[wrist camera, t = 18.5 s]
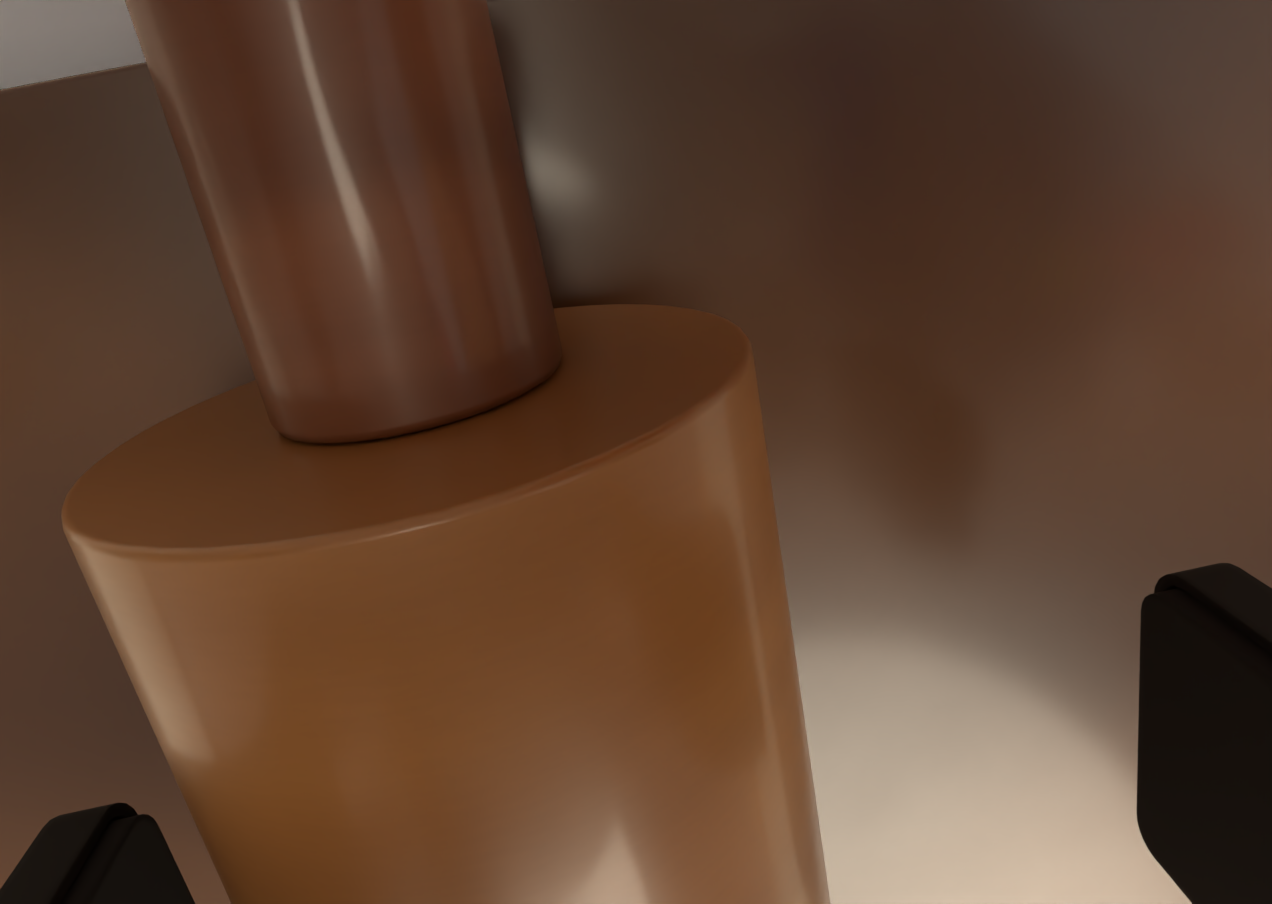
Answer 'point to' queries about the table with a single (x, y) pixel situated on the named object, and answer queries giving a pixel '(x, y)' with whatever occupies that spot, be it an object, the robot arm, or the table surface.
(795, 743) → the rolling pin
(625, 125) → the pastry board
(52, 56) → the table surface
